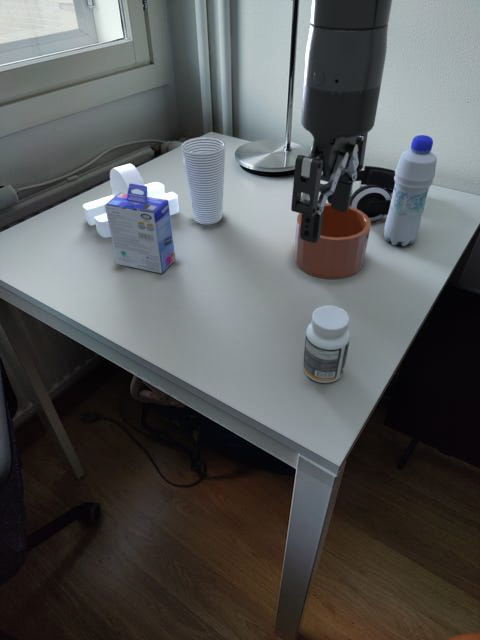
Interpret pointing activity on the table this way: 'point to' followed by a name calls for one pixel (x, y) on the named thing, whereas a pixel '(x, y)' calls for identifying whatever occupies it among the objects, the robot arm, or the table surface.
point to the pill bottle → (326, 344)
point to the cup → (205, 177)
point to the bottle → (410, 191)
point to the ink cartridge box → (141, 230)
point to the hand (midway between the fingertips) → (325, 224)
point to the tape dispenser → (120, 184)
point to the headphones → (373, 192)
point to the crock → (334, 244)
